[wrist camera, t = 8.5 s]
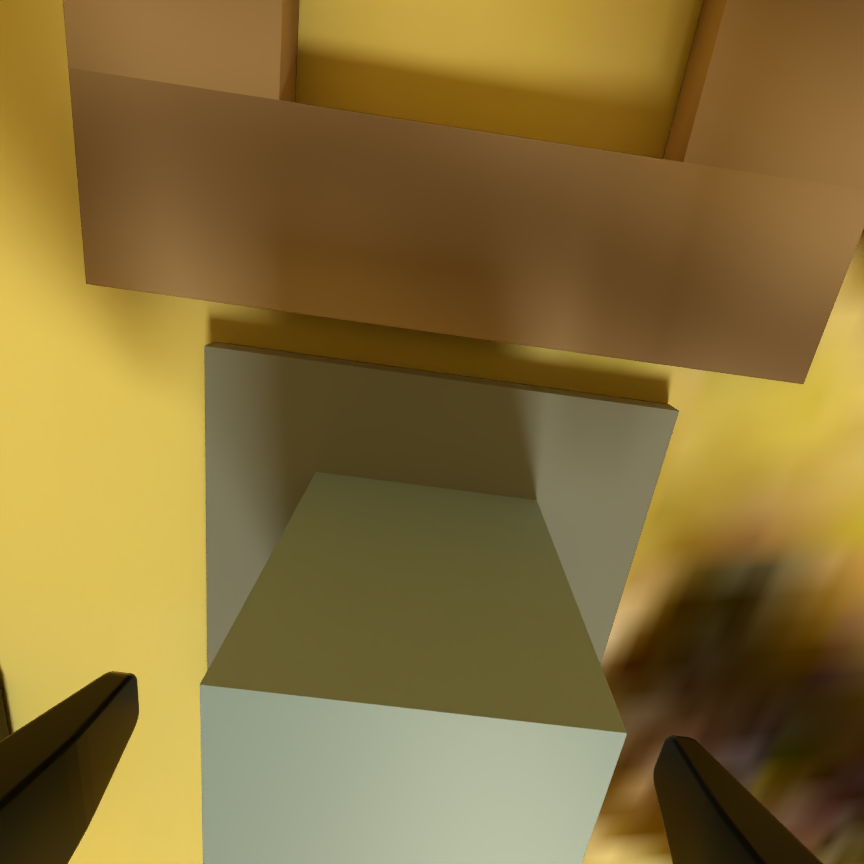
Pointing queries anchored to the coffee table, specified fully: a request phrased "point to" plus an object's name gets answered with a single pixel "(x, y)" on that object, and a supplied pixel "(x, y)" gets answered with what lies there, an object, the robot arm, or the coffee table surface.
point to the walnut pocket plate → (478, 190)
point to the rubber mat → (421, 461)
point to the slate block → (406, 690)
